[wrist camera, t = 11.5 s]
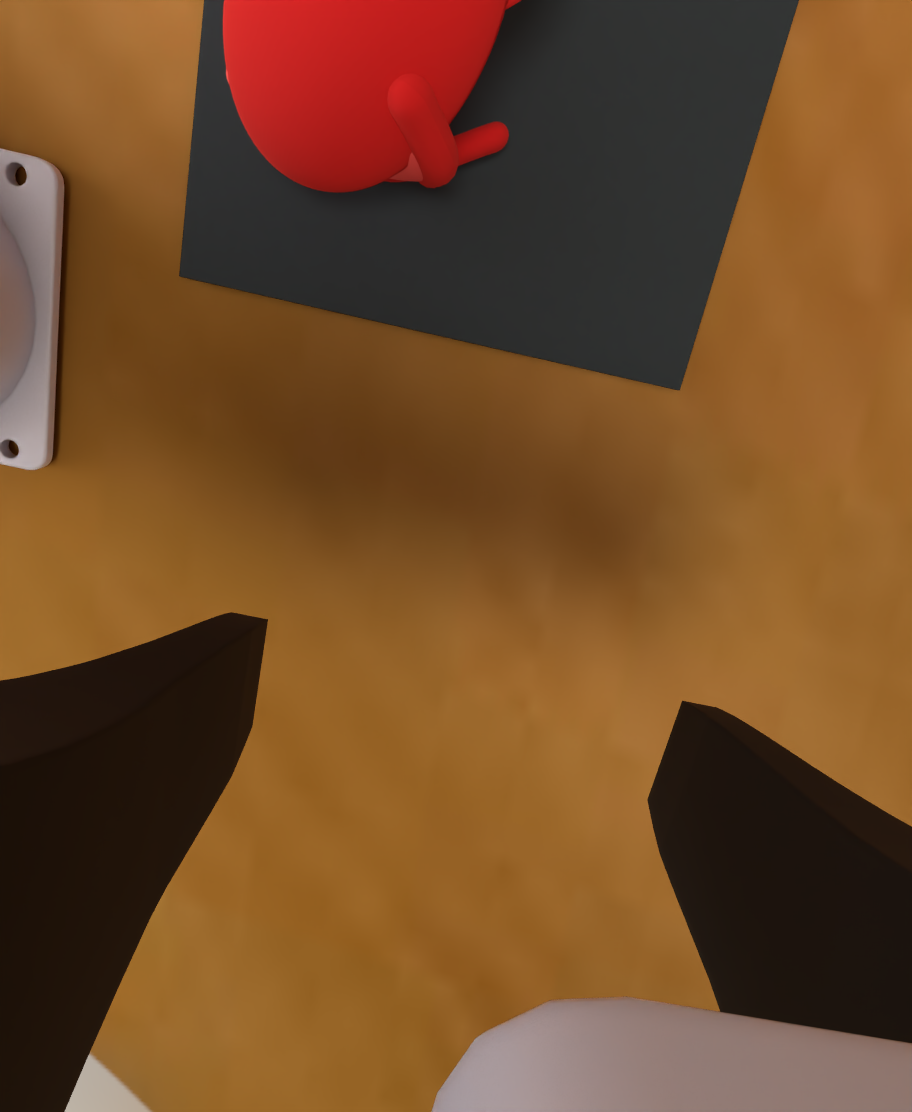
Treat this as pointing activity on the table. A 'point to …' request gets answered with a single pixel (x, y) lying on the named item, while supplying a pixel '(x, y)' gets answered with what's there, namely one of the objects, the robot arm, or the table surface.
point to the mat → (521, 190)
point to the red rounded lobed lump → (361, 86)
